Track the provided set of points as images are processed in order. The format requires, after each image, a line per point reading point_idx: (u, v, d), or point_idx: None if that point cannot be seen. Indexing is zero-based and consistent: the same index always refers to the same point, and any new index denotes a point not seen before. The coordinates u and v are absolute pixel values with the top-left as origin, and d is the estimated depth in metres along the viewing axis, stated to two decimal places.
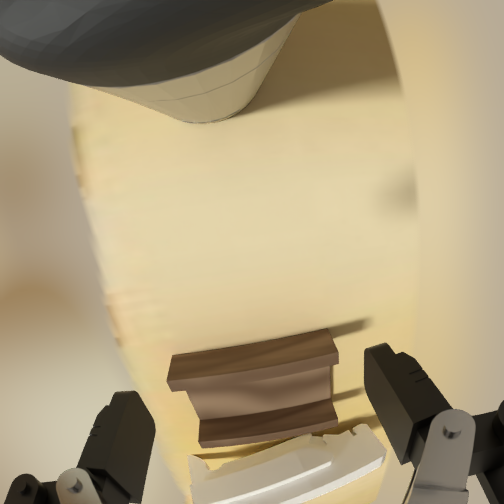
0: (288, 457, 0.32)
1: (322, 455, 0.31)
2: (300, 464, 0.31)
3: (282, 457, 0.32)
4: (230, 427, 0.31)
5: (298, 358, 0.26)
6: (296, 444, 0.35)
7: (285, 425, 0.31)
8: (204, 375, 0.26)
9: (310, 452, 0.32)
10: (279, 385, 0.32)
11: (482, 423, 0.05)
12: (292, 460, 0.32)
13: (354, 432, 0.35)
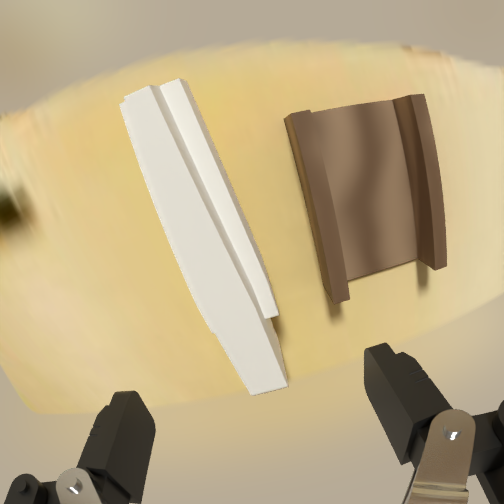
0: (257, 247, 0.24)
1: (274, 299, 0.24)
2: (264, 269, 0.23)
3: (253, 238, 0.24)
4: None
5: (443, 229, 0.24)
6: None
7: None
8: None
9: (268, 279, 0.25)
10: (370, 215, 0.27)
11: (482, 423, 0.05)
12: (259, 254, 0.24)
13: None
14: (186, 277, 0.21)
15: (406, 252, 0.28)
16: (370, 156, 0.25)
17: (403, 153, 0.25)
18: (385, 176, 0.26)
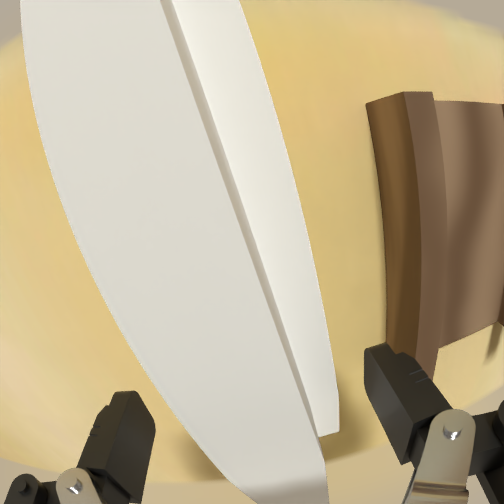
0: None
1: None
2: None
3: None
4: None
5: None
6: None
7: None
8: None
9: None
10: (464, 268, 0.16)
11: (482, 423, 0.05)
12: None
13: None
14: None
15: (489, 315, 0.17)
16: (476, 182, 0.14)
17: None
18: (488, 213, 0.15)
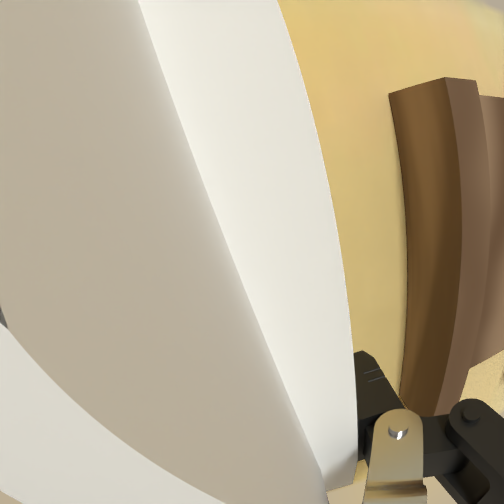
0: None
1: None
2: None
3: None
4: None
5: None
6: None
7: None
8: None
9: None
10: (490, 288, 0.13)
11: (434, 425, 0.06)
12: None
13: None
14: None
15: None
16: None
17: None
18: None
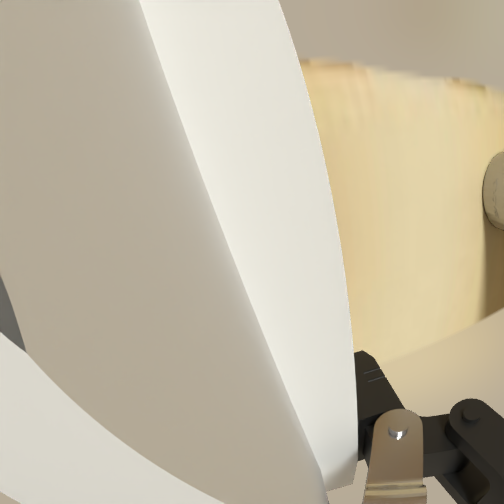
0: None
1: None
2: None
3: None
4: None
5: None
6: None
7: None
8: None
9: None
10: None
11: (434, 425, 0.06)
12: None
13: None
14: None
15: None
16: None
17: None
18: None
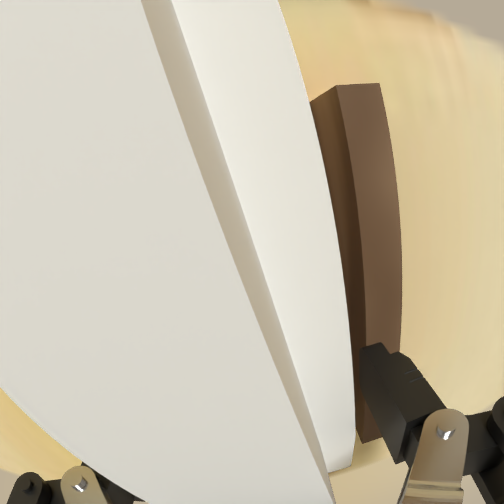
0: None
1: None
2: None
3: None
4: None
5: None
6: None
7: None
8: None
9: None
10: None
11: (476, 423, 0.05)
12: None
13: None
14: None
15: None
16: None
17: None
18: None
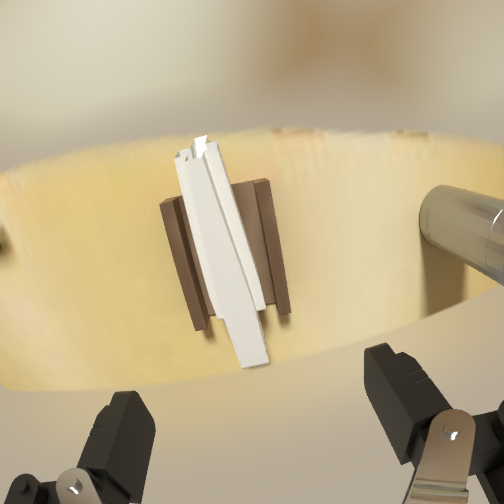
0: None
1: None
2: (258, 276, 0.33)
3: None
4: (182, 230, 0.35)
5: (286, 285, 0.36)
6: None
7: (195, 283, 0.36)
8: (274, 213, 0.33)
9: None
10: None
11: (482, 423, 0.05)
12: (255, 265, 0.34)
13: None
14: (205, 278, 0.31)
15: (264, 297, 0.40)
16: None
17: (259, 223, 0.37)
18: None
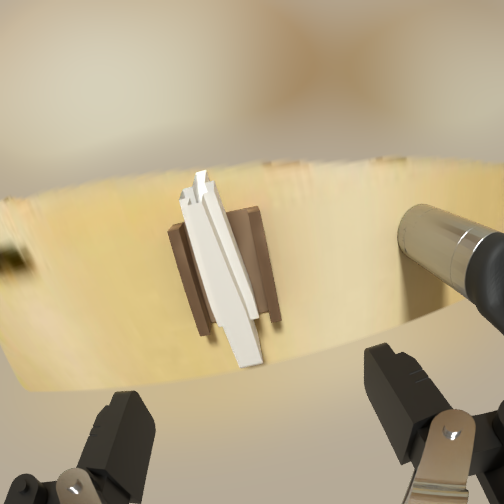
0: (248, 277, 0.40)
1: (256, 308, 0.41)
2: (251, 291, 0.39)
3: (246, 271, 0.40)
4: (187, 252, 0.41)
5: None
6: None
7: (199, 296, 0.42)
8: None
9: None
10: None
11: (482, 423, 0.05)
12: (249, 282, 0.40)
13: None
14: (207, 293, 0.37)
15: (259, 307, 0.46)
16: None
17: (253, 244, 0.43)
18: None
